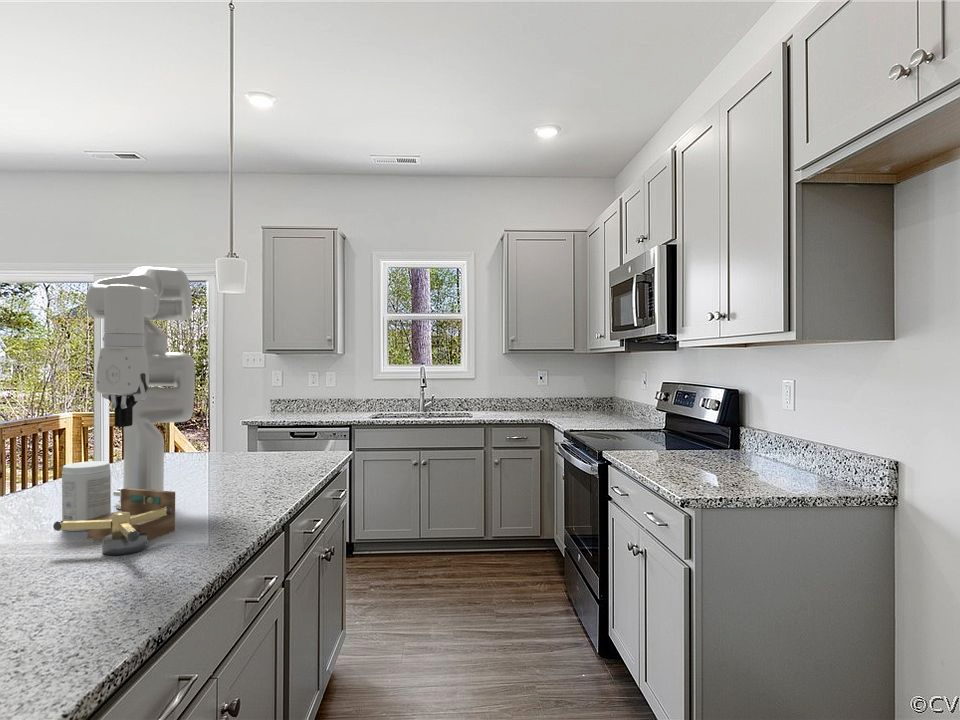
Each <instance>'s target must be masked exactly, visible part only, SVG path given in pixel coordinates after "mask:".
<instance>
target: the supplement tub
mask: <svg viewBox="0 0 960 720" xmlns="http://www.w3.org/2000/svg"><path fill="white" fill-rule="evenodd" d="M110 464H111V463H110V462H109V461H105V460H104V461H103V460H90V461H88V460H87V461H81V462H80V461H79V462H74V463H68V464H64V465H63V466H62V471H61V505H62V506H61V511H62V512H61V514H62V515H61V521H87V520H88V519H92V518H95V517H99V516H102V515H106V514H110V513H112V510H111V509H112V506H111V505H112V501H111V499H112V497H111V495H112V493H111V492H112V491H111V488H112V485H111V484H112V483H111V477H112V476H111V475H112V474H111V465H110ZM66 531H68V532H87V531H88V529H76V530H66Z"/></svg>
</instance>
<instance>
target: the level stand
mask: <svg viewBox="0 0 960 720" xmlns="http://www.w3.org/2000/svg"><path fill="white" fill-rule="evenodd" d="M122 488H123V487H122ZM166 506H168V507H170V508H171V513H170V514H169V515H167V516H162V517H158V518H155V519H151V520H148V521H144V522H141V523H137V524H134V525H131V526H132V527H133V528H134V529H135V530H136V531H141V532H146V533H147V542H148V541H150V540H154V539H157V538H159V537H162V536H165V535H168V534H171V533H173V531H174V532H175V531H176V491H170V490H169V491H168V490H164V491H159V490H146V489H134V488H123V489H121V509H119V510H116V511H114V512H111V513H110V514H106V515H102V516H99V517H95V518H92V519H88V520H112V514H114V513H119V512H130V517H131V516H135V515H138V514H142V513H146V512H150V511H153V510H157V509H161V508H164V507H166ZM170 532H171V533H170ZM86 533H87V534H86V535H87V539H94V540H95V539H96V540H102V539H103V538H104V537H106V536H108V535H111V534H112V528H104V529H88V531H86Z"/></svg>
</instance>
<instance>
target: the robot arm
mask: <svg viewBox="0 0 960 720" xmlns="http://www.w3.org/2000/svg"><path fill="white" fill-rule="evenodd" d="M85 307H86V310H87V312H88V314H89V315H90V316H92V317H94V318H96V319H103V337H102V342H103V347H101V349H100V351H99V355H98V361H97V367H96V383H95V384H96V385H95V387H96V391H97V392H98V393H99V394H101V396H102V398H103V399H106V400H108V401H109V402H110V403H111V407H112V408H113V409H114V427H117V428H118V427H119V428H123V477H122V478H123V481H122V482H123V485H122V487H118V488H117V490H115V491H114V492H113V494H112V495H113V496H114V497H120V498H119V500H118V501H117V502H116V503H115V508H117V509H118V510H121V489H123V488H134V489H146V490H159V491H165V490H164V485H165V483H164V478H165V474H164V473H165V438H164V436H163V434H162V433H161V431H160V430H159V429H158V428H157V427H156V426H155V424H160V423H163V424H164V423H166V424H167V423H184V422H188V421H190V419H191V418H192V416H193V413H194V409H195V408H194V407H195V405H194V404H195V384H196V383H195V381H196V379H195V377H196V376H195V375H196V372H195V371H196V368H195V361H194V359H193V357H192V355H190V354H189V353H186V352H177V351H174V352H173V351H171V352H169V351H167V348H168V347H167V345H168V338H167V336H166V334H165V333H164V332H163V331H162V330H161V328H160V327H159V326H157V325H156V324H155V323H154V322H153V320H155V321H175V322H176V321H178V322H179V321H186V320H188V319H189V318H190V317H191V315H192V312H193V300H192V293H191V285H190V282H189V278H188V276H187V274H186V273H185V272H184V271H183V270H181V269H180V268H173V267H172V268H171V267H156V266H155V267H153V266H140V267H139V266H138V267H137V268H134V269H133V270H131V271H130V273H129V274H128V275H127V274H126V275H121V276H116V277H115V276H114V277H107V278H103V279H102V278H101V279H98V280H97V281H94V282H93V283H92V284H91V285H90V286H89V288H88V290H87V291H86V295H85Z"/></svg>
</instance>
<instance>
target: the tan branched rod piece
mask: <svg viewBox="0 0 960 720" xmlns="http://www.w3.org/2000/svg"><path fill="white" fill-rule="evenodd" d="M170 513H171V508H170V507H168V506H166V507H164V508H161V509H157V510H153V511H150V512H146V513H142V514H138V515H135V516H131V517H130V512H119V513H114V514H112V520H87V521H62V520H57V521H55V522H54V523H53V525H52V526H53V527H52V528H53V530H55V531H57V532H61V531H67V530H76V529H104V528H112V534H111V535H108V536H106V537H104V538H103V539H101V541H102V544H101V545H102V547H101V550H102V551H101V552H102V554H105V555H107V556H108V555H109V556H119V555H129V554H133V553H137V552H141V551H143V550H145V549H147V547H148V541H147V533H146V532H141V531H136V530H135V529H134V528H133V527H132V526H131V525H134V524H137V523H141V522H144V521H148V520H151V519H155V518H158V517H162V516H167V515H169V514H170Z"/></svg>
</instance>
